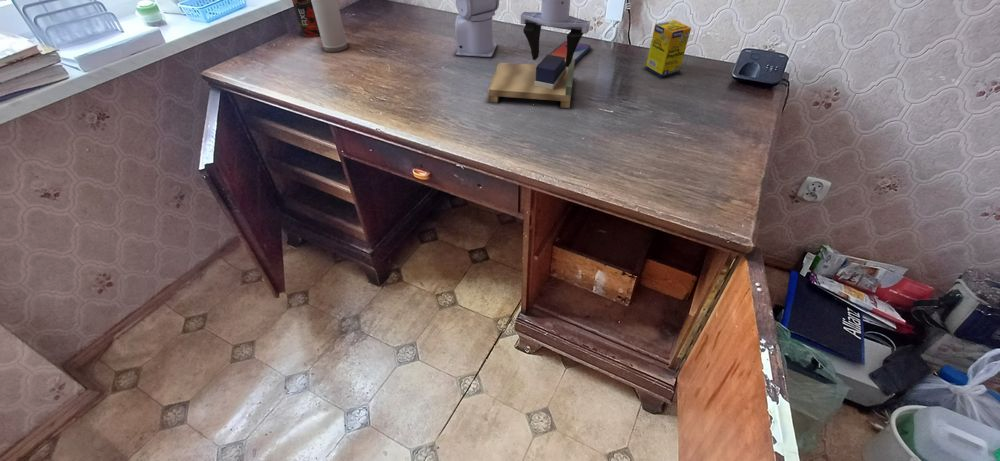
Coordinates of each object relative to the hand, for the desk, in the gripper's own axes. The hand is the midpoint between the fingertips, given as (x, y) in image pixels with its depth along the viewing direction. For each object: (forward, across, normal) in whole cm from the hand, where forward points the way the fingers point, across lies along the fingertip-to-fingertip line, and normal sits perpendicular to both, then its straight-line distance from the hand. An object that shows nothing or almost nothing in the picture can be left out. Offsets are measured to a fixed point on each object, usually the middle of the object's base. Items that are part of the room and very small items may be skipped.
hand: (551, 61), depth 103 cm
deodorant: (+7, +74, -7) cm, 75 cm away
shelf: (+7, +4, +1) cm, 8 cm away
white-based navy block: (+4, 0, 0) cm, 4 cm away
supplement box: (+7, -22, -21) cm, 31 cm away
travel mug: (+7, +62, -1) cm, 62 cm away
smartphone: (+7, +2, -20) cm, 21 cm away
